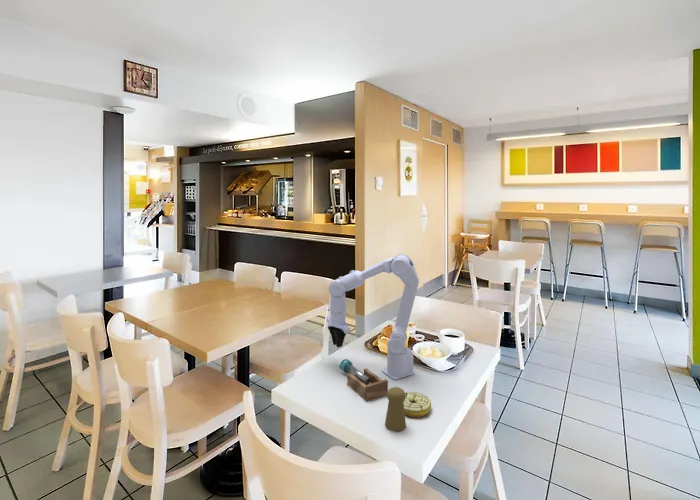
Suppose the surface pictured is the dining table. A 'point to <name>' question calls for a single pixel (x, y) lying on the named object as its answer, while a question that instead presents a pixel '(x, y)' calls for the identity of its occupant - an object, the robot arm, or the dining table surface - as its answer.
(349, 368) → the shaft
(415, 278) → the robot arm
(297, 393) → the dining table surface
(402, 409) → the olive brown pawn
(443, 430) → the dining table surface
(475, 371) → the dining table surface
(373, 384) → the housing
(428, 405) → the decorated donut
